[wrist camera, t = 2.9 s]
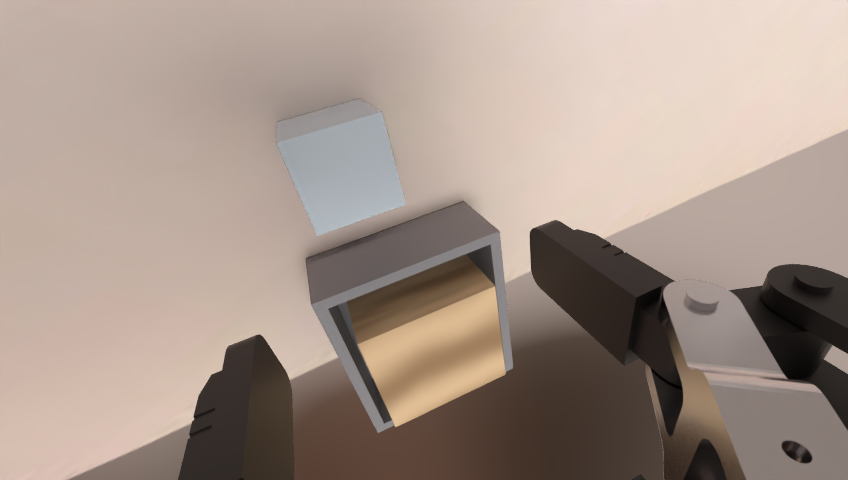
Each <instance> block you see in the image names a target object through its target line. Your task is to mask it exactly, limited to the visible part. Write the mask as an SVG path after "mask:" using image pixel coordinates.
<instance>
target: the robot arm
mask: <svg viewBox="0 0 848 480" xmlns="http://www.w3.org/2000/svg"><path fill="white" fill-rule="evenodd" d="M530 254H531V271H532V275H533V277H534V279H535V282H536V283H537V285H538V286H539V287H540V288H541V289H542V290H543V291H544V292H545V293H546V294H547V295H548V296H549V297H550V298H551V299H553V300H554V301H555V302H556V303H557V304H558V305H559V306H560V307H561V308H562V309H563V310H565V311H566V312H567V313H568V314H569V315H570V316H571V317H572V318H573V319H574V320H575V321H577V323H578V324H580V325H581V326H582V327H583V328H584V329H585V330H586V331H587V332H588V333H589V334H590V335H591V336H593V337H594V338H595V339H596V340H597V341H598V342H599V343H600V344H601V345H602V346H603V347H604V348H605V349H607V350H608V351H609V352H610V353H611V354H612V355H613V356H614V357H615V358H616V359H617V360H618V361H620V362H621V363H622V364H623V365H624V366H625V365H627V364H629V363H631V362H633V361H635V360H637V359H639V358H640V359H641V360H643V361H644V362H645V363H646V364H647V366H646V375H647V379H648V384H649V388H650V392H651V396H652V400H653V405H654V409H655V414H656V418H657V422H658V426H659V431H660V434H661V439H662V444H663V472H664V480H848V374H847V373H845V372H843V371H841V370H840V369H838V368H837V367H835V366H834V365H832V364H830V363H829V362H827V361H825V360H824V358H825V356H826V355H827V353H828V351H829V350H830V348H831V347H832V345H834V346H835V347H837V348H839V349H841V350H842V351H844V352H846V353H847V354H848V278H846V277H843V276H841V275H839V274H836V273H834V272H831V271H829V270H825V269H822V268H818V267H814V266H808V265H800V264H788V265H781V266H777V267H774V268H773V269H771V270H770V271H769V272H768V274H767V277H766V279H765V281H764V284H763V286H758V287H750V288H743V289H736V290H727V289H725V288H724V287H721V286H719V285H717V284H714V283H711V282H707V281H702V280H695V279H684V280H678V281H674V280H672V279H670V278H669V277H667V276H665V275H663V274H662V273H660V272H658V271H657V270H655V269H653V268H651V267H650V266H648V265H646V264H645V263H643V262H641V261H640V260H638V259H636V258H635V257H633V256H631V255H629V254H628V253H624V252H623V251H622V250H621V249H619V248H617V247H616V246H614V245H613V246H612V245H611V244H610V243H609V242H607V241H606V240H604V239H602V238H601V237H599V236H597V235H596V234H592V233H588V232H585V231H581V230H578V229H577V230H573V229H571V228H569V227H568V226H566V225H565V224H563V223H561V222H560V221H557V220H554V221H551V222H548V223H546V224H543V225H541V226H538V227H536V228H533V229H532V230H531V232H530ZM189 435H190V439H188V441H187V446H186V450H185V454H184V458H183V462H182V466H181V471H180V474H179V478H178V480H294V446H293V408H292V389H291V384H290V380H289V377H288V375H287V373H286V371H285V369H284V368H283V366H282V365H281V363H280V362H279V360H278V359H277V357H276V355H275V354H274V352H273V351H272V349H271V348H270V346H269V345H268V343H267V342H266V340H265V339H264V338H263V337H262V336H261V335H256V336H253V337H251V338H248V339H246V340H243V341H240V342H238V343H235V344H233V345H230V346H228V347H227V349H226V353H225V358H224V364H223V369H222V371H220V372H217V373H215V374H212V375H211V377H210V378H209V380H208V382H207V383H206V385H205V386H204V388H203V390H202V391H201V393H200V394H199V396H198V400H197V405H196V409H195V413H194V421H192V425H191V429H190V433H189ZM632 480H645V479H644V478H643V476H642V475H639V476H637V477H635V478H634V479H632Z"/></svg>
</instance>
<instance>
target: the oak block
mask: <svg viewBox="0 0 848 480" xmlns="http://www.w3.org/2000/svg"><path fill="white" fill-rule="evenodd" d="M346 302H347V306H348V310H349V314H350V318H351V321H352V325H353V329H354V333H355V337H356V340H357V344H358V347H359V349H360V351H361V353H362V355H363V357H364V360H365V362H366V364H367V366H368V368H369V370H370V373H371V375H372V377H373V379H374V381H375V383H376V386H377V388H378V390H379V392H380V394H381V396H382V399H383V401H384V403H385V405H386V407H387V409H388V412H389V414H390V416H391V418H392V420H393V423H394V425H395V427H397V426H399V425H401V424H404V423H405V422H408V421H410V420H412V419H414V418H416V417H418V416H420V415H422V414H424V413H426V412H428V411H430V410H433V409H435V408H437V407H439V406H441V405H443V404H445V403H447V402H449V401H451V400H453V399H455V398H457V397H460V396H462V395H464V394H466V393H468V392H470V391H472V390H474V389H476V388H478V387H480V386H482V385H484V384H486V383H488V382H491V381H492V380H495V379H497V378H499V377H501V376H503V375H505V364H504V356H503V348H502V339H501V331H500V323H499V314H498V306H497V298H496V290H495V285H494V284H493V283H492V282H491V281H490V280H489V279H488V278H487V277H486V275H485V274H484V273H483V272H482V271H481V270H480V269H479V268H478V267H477V266H476V264H475V263H474V262H473V261H472V260H471V259H470V258H469V257H468V256H467V254H465V255H462V256H460V257H457V258H455V259H452V260H450V261H447V262H445V263H442V264H439V265H437V266H434V267H432V268H429V269H427V270H424V271H422V272H419V273H417V274H414V275H412V276H409V277H407V278H404V279H402V280H399V281H397V282H394V283H392V284H389V285H387V286H384V287H382V288H379V289H377V290H374V291H372V292H369V293H366V294H364V295H361V296H359V297H356V298H354V299H351V300H349V301H346Z"/></svg>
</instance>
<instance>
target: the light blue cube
mask: <svg viewBox="0 0 848 480" xmlns="http://www.w3.org/2000/svg"><path fill="white" fill-rule="evenodd" d="M276 144H277V147H278V149H279V151H280V153H281V156H282V158H283V160H284V162H285V165H286V167H287V169H288V171H289V174H290V176H291V178H292V180H293V183H294V185H295V187H296V189H297V192H298V194H299V196H300V198H301V201H302V203H303V205H304V208H305V210H306V212H307V214H308V217H309V219H310V221H311V223H312V226H313V228H314V230H315V232H316V235H317V236H319V235H322V234H325V233H327V232H330V231H333V230H336V229H339V228H342V227H344V226H347V225H350V224H353V223H356V222H359V221H361V220H364V219H367V218H370V217H373V216H375V215H378V214H381V213H384V212H387V211H390V210H392V209H395V208H398V207H401V206H404V205H406V202H405V198H404V194H403V191H402V187H401V183H400V179H399V175H398V171H397V168H396V164H395V160H394V156H393V152H392V149H391V145H390V141H389V137H388V133H387V129H386V126H385V122H384V118H383V114H382V112H381V111H380V110H378V109H377V108H375V107H373V106H372V105H370V104H369V103H367V102H365V101H364V100H362V99H361V98H359V99H356V100H352V101H349V102H345V103H342V104H338V105H335V106H331V107H328V108H324V109H321V110H317V111H314V112H310V113H307V114H303V115H300V116H296V117H293V118H289V119H286V120H282V121H279V122H277V132H276Z"/></svg>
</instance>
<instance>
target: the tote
mask: <svg viewBox="0 0 848 480" xmlns="http://www.w3.org/2000/svg"><path fill="white" fill-rule="evenodd" d="M465 254H467V256H468V257H469V258H470V259H471V260H472V261H473V262H474V263H475V264H476V266H477V267H478V268H479V269H480V270H481V271H482V272H483V273H484V274H485V275H486V277H487V278H488V279H489V280H490V281H491V282H492V283H493V284H494V285H495V290H496V298H497V306H498V314H499V323H500V331H501V339H502V348H503V356H504V364H505V372H506V371H508V370H510V369H512V368H513V362H512V352H511V342H510V332H509V321H508V311H507V301H506V292H505V281H504V271H503V261H502V251H501V241H500V231H499V230H498V229H496V228H495V227H494V226H493V225H492V224H490V223H489V222H488V221H487V220H486V219H484V218H483V217H482V216H481V215H480V214H478V213H477V212H476V211H475V210H474V209H472V208H471V207H470V206H469V205H468V204H466V203H465V202H464V201H463V202H460V203H458V204H455V205H452V206H449V207H447V208H444V209H441V210H438V211H436V212H433V213H430V214H427V215H425V216H422V217H419V218H416V219H414V220H411V221H408V222H406V223H403V224H400V225H397V226H395V227H392V228H389V229H386V230H384V231H381V232H378V233H375V234H373V235H370V236H367V237H364V238H362V239H359V240H356V241H353V242H351V243H348V244H345V245H342V246H340V247H337V248H334V249H331V250H329V251H326V252H323V253H321V254H318V255H315V256H312V257H310V258H307V259H306V266H307V274H308V282H309V291H310V299H311V305H312V307H313V309H314V311H315V313H316V315H317V317H318V319H319V321H320V323H321V324H322V326H323V328H324V330H325V332H326V334H327V336H328V338H329V340H330V342H331V344H332V346H333V347H334V349H335V351H336V353H337V355H338V357H339V359H340V361H341V363H342V365H343V367H344V369H345V370H346V372H347V374H348V376H349V378H350V380H351V382H352V384H353V386H354V388H355V390H356V392H357V393H358V395H359V397H360V399H361V401H362V403H363V405H364V407H365V409H366V411H367V413H368V415H369V417H370V419H371V420H372V422H373V424H374V426H375V428H376V430H377V432H378V433H379V432H381V431H383V430H385V429H387V428H389V427H391V426H393V425H394V423H393V420H392V418H391V416H390V414H389V412H388V409H387V407H386V405H385V403H384V401H383V399H382V396H381V394H380V392H379V390H378V388H377V386H376V383H375V381H374V379H373V377H372V375H371V373H370V370H369V368H368V366H367V364H366V362H365V360H364V357H363V355H362V353H361V351H360V349H359V347H358V344H357V340H356V337H355V333H354V329H353V325H352V321H351V318H350V314H349V310H348V306H347V302H346V301H349V300H351V299H354V298H356V297H359V296H361V295H364V294H366V293H369V292H372V291H374V290H377V289H379V288H382V287H384V286H387V285H389V284H392V283H394V282H397V281H399V280H402V279H404V278H407V277H409V276H412V275H414V274H417V273H419V272H422V271H424V270H427V269H429V268H432V267H434V266H437V265H439V264H442V263H445V262H447V261H450V260H452V259H455V258H457V257H460V256H462V255H465Z"/></svg>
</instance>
